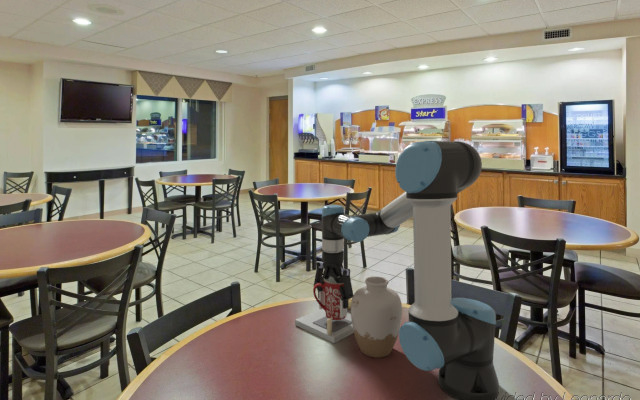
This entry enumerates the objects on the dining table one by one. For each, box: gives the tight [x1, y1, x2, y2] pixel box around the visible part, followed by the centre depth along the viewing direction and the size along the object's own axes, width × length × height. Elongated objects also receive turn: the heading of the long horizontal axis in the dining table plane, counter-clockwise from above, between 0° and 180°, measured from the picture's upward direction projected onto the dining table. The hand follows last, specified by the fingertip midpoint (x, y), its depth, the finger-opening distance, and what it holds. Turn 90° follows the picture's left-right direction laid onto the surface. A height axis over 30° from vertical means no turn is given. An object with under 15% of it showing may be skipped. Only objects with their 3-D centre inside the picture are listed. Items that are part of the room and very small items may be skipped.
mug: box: [312, 276, 346, 320], centre depth 134 cm, size 13×9×14 cm
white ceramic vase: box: [351, 276, 403, 359], centre depth 119 cm, size 16×16×23 cm
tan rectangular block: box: [347, 298, 352, 310], centre depth 144 cm, size 7×3×3 cm, turn 46°
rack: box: [294, 308, 354, 344], centre depth 138 cm, size 19×23×7 cm
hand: (332, 312), depth 134 cm, fingers closed on mug, 9 cm apart
